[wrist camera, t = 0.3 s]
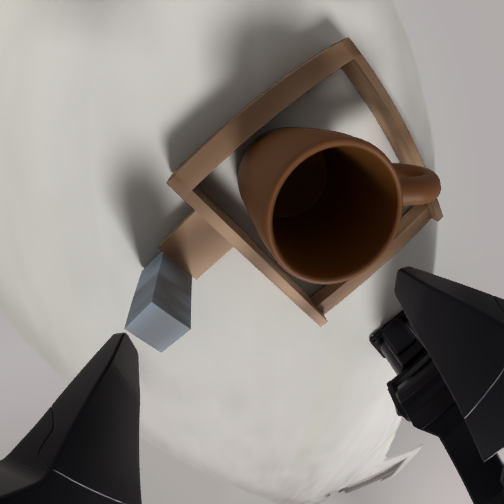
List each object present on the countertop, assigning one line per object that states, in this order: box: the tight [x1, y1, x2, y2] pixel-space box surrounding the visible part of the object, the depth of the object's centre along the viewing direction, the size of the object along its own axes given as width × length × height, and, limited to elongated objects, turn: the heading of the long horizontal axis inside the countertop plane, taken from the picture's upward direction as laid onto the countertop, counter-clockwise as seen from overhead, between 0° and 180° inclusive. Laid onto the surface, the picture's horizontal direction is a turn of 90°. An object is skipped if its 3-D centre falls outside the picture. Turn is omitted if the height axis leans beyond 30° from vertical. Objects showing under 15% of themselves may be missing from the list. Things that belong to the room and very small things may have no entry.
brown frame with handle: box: [124, 37, 443, 352], centre depth 18 cm, size 18×24×7 cm
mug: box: [238, 127, 441, 284], centre depth 16 cm, size 12×8×9 cm, turn 102°
